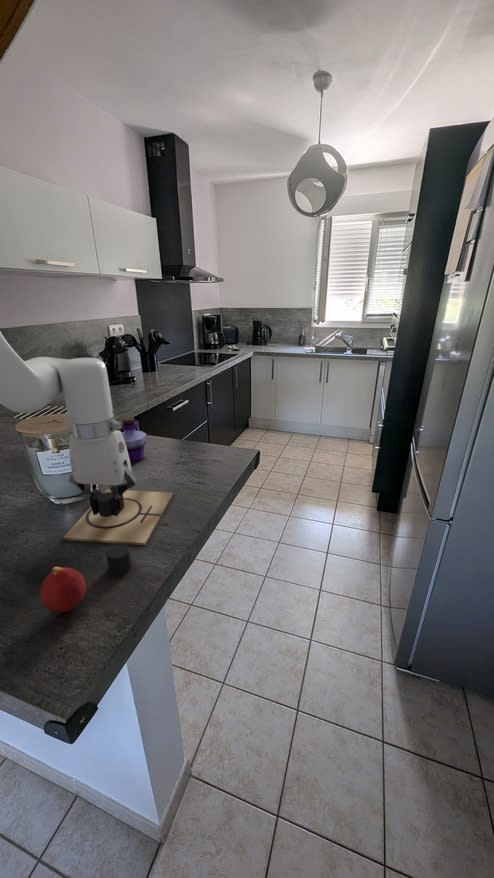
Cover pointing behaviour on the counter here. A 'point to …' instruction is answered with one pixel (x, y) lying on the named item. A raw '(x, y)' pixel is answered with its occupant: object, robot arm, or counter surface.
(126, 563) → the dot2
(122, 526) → the board
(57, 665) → the counter surface
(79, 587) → the onion
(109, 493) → the dot
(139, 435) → the potion bottle
